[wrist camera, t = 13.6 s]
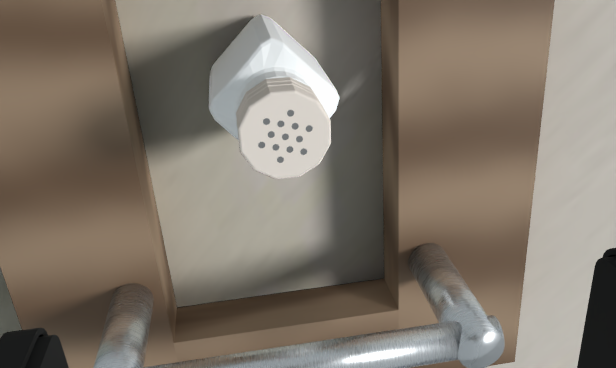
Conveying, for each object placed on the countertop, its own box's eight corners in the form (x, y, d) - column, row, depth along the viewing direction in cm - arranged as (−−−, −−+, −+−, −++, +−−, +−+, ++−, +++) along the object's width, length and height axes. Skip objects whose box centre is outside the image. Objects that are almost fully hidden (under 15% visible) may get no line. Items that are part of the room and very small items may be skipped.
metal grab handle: (107, 286, 29) (77, 392, 22) (445, 240, 30) (506, 327, 24) (116, 319, 29) (89, 430, 23) (444, 272, 31) (502, 365, 25)
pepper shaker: (204, 71, 28) (199, 144, 19) (259, 6, 27) (280, 52, 19) (267, 123, 29) (289, 211, 21) (322, 62, 29) (368, 129, 20)
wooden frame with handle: (-126, -214, 22) (-174, -231, 19) (543, -248, 24) (583, -267, 22) (70, 393, 35) (58, 434, 32) (492, 329, 37) (514, 361, 35)
